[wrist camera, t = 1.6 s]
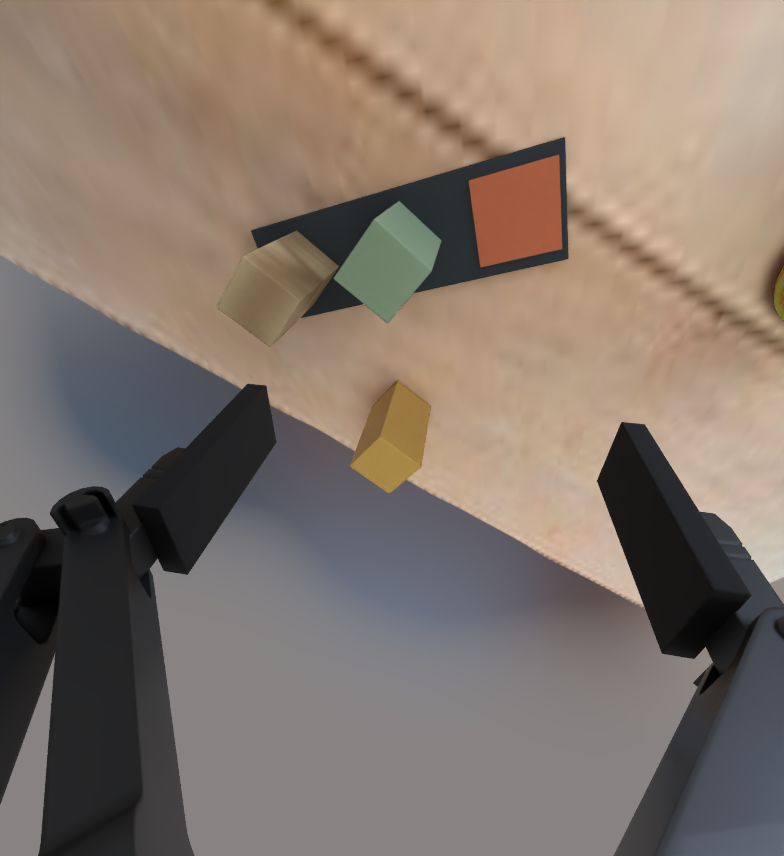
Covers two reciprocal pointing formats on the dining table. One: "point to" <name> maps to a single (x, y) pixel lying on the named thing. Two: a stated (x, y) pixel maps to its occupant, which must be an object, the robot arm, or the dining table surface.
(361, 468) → the tall mustard brick
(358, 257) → the sage I block
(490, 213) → the word mat
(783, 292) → the decorated donut
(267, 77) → the dining table surface
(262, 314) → the tan tall block
